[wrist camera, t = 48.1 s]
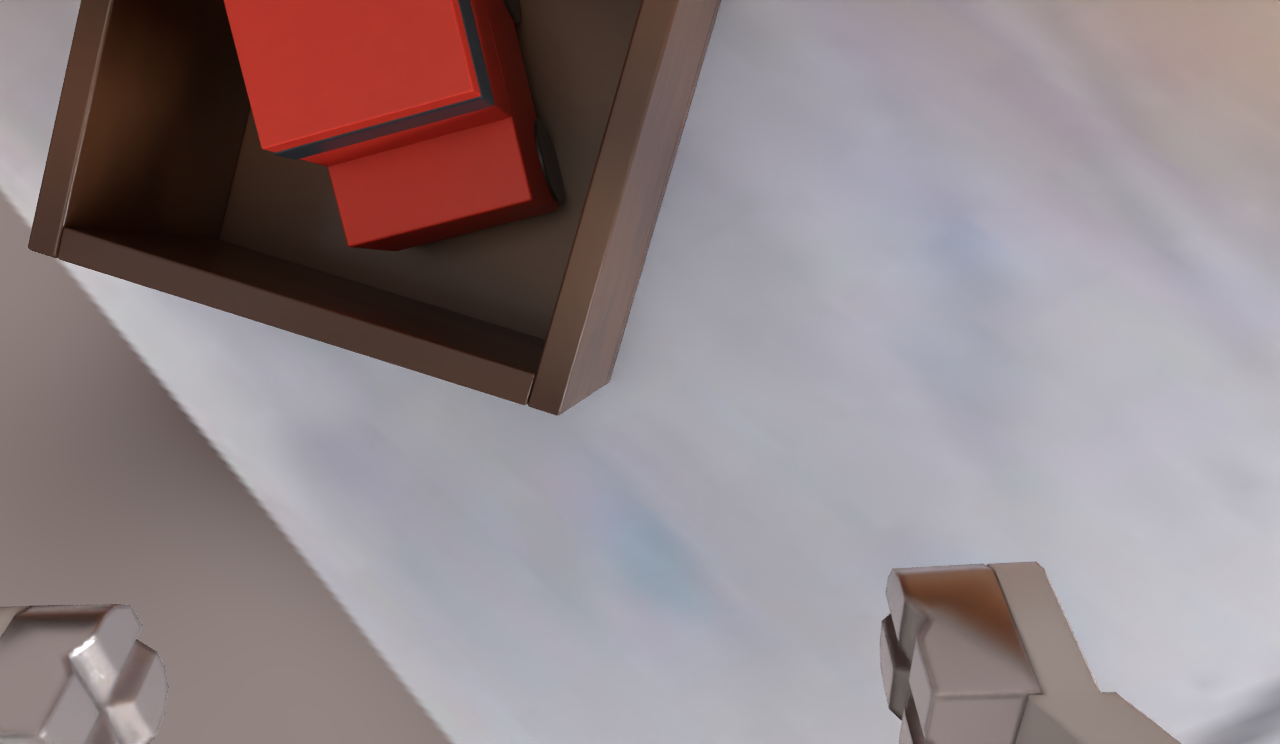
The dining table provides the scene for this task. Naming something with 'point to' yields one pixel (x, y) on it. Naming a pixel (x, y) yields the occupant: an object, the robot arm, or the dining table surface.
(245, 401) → the dining table surface
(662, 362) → the dining table surface
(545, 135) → the red stepped block
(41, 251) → the toy chest
